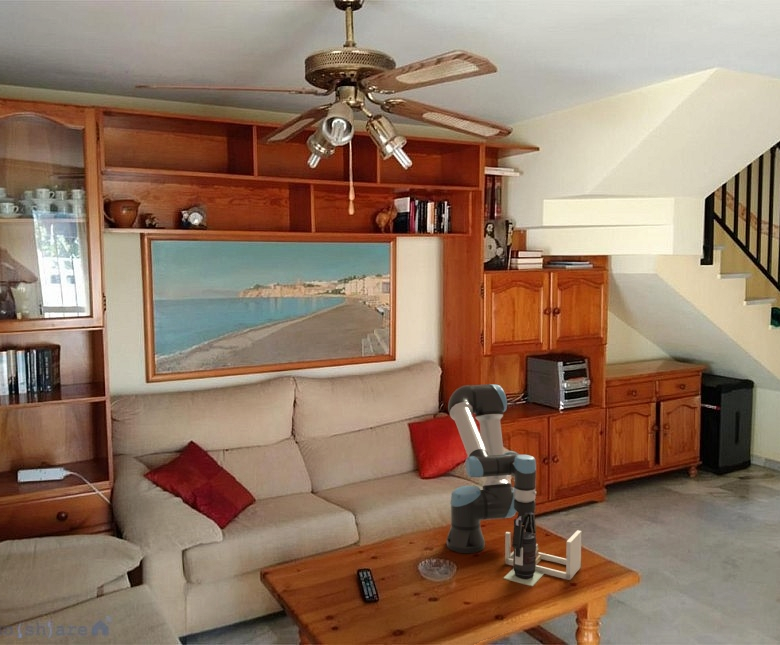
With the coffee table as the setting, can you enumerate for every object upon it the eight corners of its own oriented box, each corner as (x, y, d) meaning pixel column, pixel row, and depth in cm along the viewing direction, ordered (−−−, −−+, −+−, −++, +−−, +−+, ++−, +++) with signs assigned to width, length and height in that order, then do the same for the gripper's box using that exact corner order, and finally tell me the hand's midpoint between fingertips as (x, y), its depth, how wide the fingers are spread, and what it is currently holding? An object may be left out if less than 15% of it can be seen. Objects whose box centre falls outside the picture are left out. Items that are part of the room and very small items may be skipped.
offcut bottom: (513, 564, 263) (513, 558, 263) (521, 556, 270) (521, 550, 270) (533, 569, 259) (533, 563, 259) (541, 561, 266) (541, 555, 265)
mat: (503, 578, 251) (503, 577, 251) (515, 567, 260) (515, 565, 260) (532, 586, 245) (532, 585, 245) (544, 574, 254) (544, 573, 254)
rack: (505, 563, 263) (505, 527, 261) (517, 552, 273) (518, 517, 271) (570, 580, 249) (570, 542, 248) (580, 567, 259) (581, 531, 258)
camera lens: (534, 570, 256) (535, 531, 255) (536, 580, 248) (537, 539, 247) (512, 569, 257) (512, 530, 256) (513, 579, 249) (514, 538, 248)
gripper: (522, 510, 238) (522, 573, 241) (545, 491, 256) (544, 550, 259) (502, 506, 242) (502, 568, 245) (526, 488, 260) (525, 546, 263)
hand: (524, 559), depth 252 cm, fingers open, 9 cm apart
